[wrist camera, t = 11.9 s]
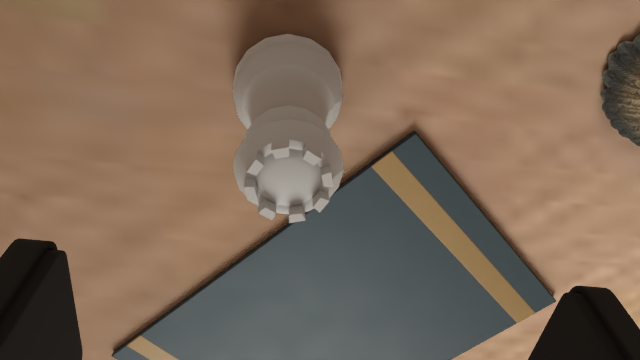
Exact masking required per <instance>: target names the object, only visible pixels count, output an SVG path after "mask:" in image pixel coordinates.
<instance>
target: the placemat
mask: <svg viewBox="0 0 640 360" xmlns="http://www.w3.org/2000/svg"><path fill="white" fill-rule="evenodd" d="M329 200H330V201H329V202H328V204H327V205H326V206H325V207H324V208H323V210H322V211H321V212H320V213H319V212H318V211H317V210H316V209H315V208H314V209H312V210H310V211H308V212H305V221H300V222H294V223H288V224H287V225H286V226H284V227H283V228H282V229H280V230H279V231H277V232H276V233H275V234H273V235H272V236H271V237H269V238H268V239H267V240H265V241H264V242H263V243H261V244H260V245H258V246H257V247H256V248H254V249H253V250H252V251H250V252H249V253H248V254H246V255H245V256H243V257H242V258H241V259H239V260H238V261H237V262H235V263H234V264H233V265H231V266H230V267H228V268H227V269H226V270H224V271H223V272H222V273H220V274H219V275H218V276H216V277H215V278H214V279H212V280H211V281H209V282H208V283H207V284H205V285H204V286H203V287H201V288H200V289H199V290H197V291H196V292H194V293H193V294H192V295H190V296H189V297H188V298H186V299H185V300H184V301H182V302H181V303H180V304H178V305H177V306H175V307H174V308H173V309H171V310H170V311H169V312H167V313H166V314H165V315H163V316H162V317H160V318H159V319H158V320H156V321H155V322H154V323H152V324H151V325H150V326H148V327H147V328H145V329H144V330H143V331H141V332H140V333H139V334H137V335H136V336H135V337H133V338H132V339H131V340H129V341H128V342H126V343H125V344H124V345H122V346H121V347H120V348H118V349H117V350H116V351H114V352H113V354H112V357H114V358H116V359H117V360H451V359H453V358H455V357H456V356H458V355H460V354H462V353H464V352H465V351H467V350H469V349H471V348H473V347H475V346H476V345H478V344H480V343H482V342H484V341H485V340H487V339H489V338H491V337H493V336H494V335H496V334H498V333H500V332H502V331H503V330H505V329H507V328H509V327H511V326H512V325H514V324H516V323H518V322H520V321H522V320H524V319H526V318H528V317H529V316H531V315H533V314H535V313H536V312H538V311H540V310H541V309H543V308H545V307H547V306H549V305H550V304H552V303H554V302H556V300H555V299H554V297H553V296H552V295H551V294H550V292H549V291H548V290H547V289H546V288H545V286H544V285H543V284H542V283H541V282H540V280H539V279H538V278H537V277H536V276H535V274H534V273H533V272H532V271H531V270H530V268H529V267H528V266H527V265H526V264H525V262H524V261H523V260H522V259H521V258H520V256H519V255H518V254H517V253H516V252H515V250H514V249H513V248H512V247H511V246H510V245H509V243H508V242H507V241H506V240H505V239H504V237H503V236H502V235H501V234H500V233H499V231H498V230H497V229H496V228H495V227H494V225H493V224H492V223H491V222H490V221H489V219H488V218H487V217H486V216H485V215H484V213H483V212H482V211H481V210H480V209H479V207H478V206H477V205H476V204H475V203H474V201H473V200H472V199H471V198H470V197H469V195H468V194H467V193H466V192H465V191H464V189H463V188H462V187H461V186H460V185H459V183H458V182H457V181H456V180H455V179H454V177H453V176H452V175H451V174H450V173H449V171H448V170H447V169H446V168H445V167H444V165H443V164H442V163H441V162H440V161H439V159H438V158H437V157H436V156H435V155H434V153H433V152H432V151H431V150H430V149H429V148H428V146H427V145H426V144H425V143H424V142H423V140H422V139H421V138H420V137H419V136H418V134H417V133H416V132H415V131H414V132H412V133H411V134H409V135H408V136H407V137H405V138H404V139H403V140H401V141H400V142H399V143H397V144H396V145H395V146H393V147H392V148H390V149H389V150H388V151H386V152H385V153H384V154H382V155H381V156H380V157H378V158H377V159H375V160H374V161H373V162H371V163H370V164H369V165H367V166H366V167H365V168H363V169H362V170H360V171H359V172H358V173H356V174H355V175H354V176H352V177H351V178H350V179H348V180H347V181H346V182H344V183H343V184H341V185H340V186H339V187H338V189H337V190H336V191H335V192H334V193H333V194H332V196H331V197H330V198H329Z"/></svg>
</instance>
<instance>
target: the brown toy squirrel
mask: <svg viewBox="0 0 640 360" xmlns="http://www.w3.org/2000/svg"><path fill="white" fill-rule="evenodd" d="M607 60H608V65H609V68H608V69H607V70H605V71H604V72H603V76H602V78H603V81H604V83H605V84H606V86H607V87H608V88H607V89H605V90H602V91H601V96H602V97H603V99H604V100H605V103H603V105H602V109H603V111H604V112H605V115H606V117H607V118H608V119H609V120H610V123H611V126H612V127H613V128H615V129H617V130H618V131H619V134H620V135H622V136H623V137H627V138H629V139H630V140H631V141H632V142H634V143H635V144H636V145H638V146H640V34H638V35H637V36H636V37H635V38H634V40H633V42H631V41H623V42H621V43H619V44H618V46H617V51H615V52H612V53H610V54H609V56H608V59H607Z"/></svg>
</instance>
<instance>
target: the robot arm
mask: <svg viewBox="0 0 640 360" xmlns="http://www.w3.org/2000/svg"><path fill="white" fill-rule="evenodd" d="M0 360H82V345H81V339H80V333H79V327H78V321H77V315H76V309H75V303H74V297H73V291H72V285H71V279H70V273H69V267H68V261H67V256H66V253H65V251H61V250H57V247H56V244H55V243H54V242H51V241H41V240H29V239H17V240H15V241H14V242H13V243H12V244H11V245H10V246H9V247H8V249H7V250H6V251H5V253H4V254H3V255H2V256H1V258H0ZM528 360H640V329H639V328H638V326H637V325H636V324H635V322H634V321H633V319H632V318H631V317H630V315H629V314H628V313H627V311H626V310H625V308H624V307H623V306H622V304H621V303H620V302H619V300H618V299H617V297H616V296H615V295H614V294H613V293H612V292H611V291H610V290H609V289H607V288H599V287H587V286H575V287H573V288H572V289H571V290H570V292H569V293H565V294H563V296H562V297H561V299H560V301H559V303H558V305H557V306H556V308H555V310H554V312H553V314H552V316H551V318H550V319H549V321H548V323H547V325H546V327H545V329H544V331H543V333H542V334H541V336H540V338H539V340H538V342H537V344H536V346H535V347H534V349H533V351H532V353H531V355H530V357H529V359H528Z"/></svg>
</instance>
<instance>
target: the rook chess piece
mask: <svg viewBox="0 0 640 360" xmlns="http://www.w3.org/2000/svg"><path fill="white" fill-rule="evenodd" d="M233 90H234V91H233V99H234V103H235V107H236V110H237V114H238V117H239V119H240V120H241V121H242V123H243V124H244V125H245V126H246V128H247V129H248V130H247V134H246V138H245V139H244V141H243V142H242V143H241V145H240V146H239V148H238V149H237V150H236V155H235V161H234V167H233V171H234V174H235V177H236V181H237V184H238V188H239V189H240V190H241V191H242V192H243V193H244V195H245V196H246V197H247V200H248V201H250V202H252V203H254V204H255V205H257V206H259V208H258V213H259V214H261V215H263V216H264V217H266V218H268V219H270V220H272V221H273V219H274V217H275V215H276V213H281V214H288V215H289V223H294V222H300V221H305V212H308V211H310V210H312V209H314V208H315V209H316V210H317V211H318V212H319V213H320V212H321V211H322V210H323V208H324V207H325V206H326V205H327V204H328V202H329V201H330V200H329V198H330V197H331V196H332V194H333V193H334V192H335V191H336V190H337V189H338V187H339V184H340V181H341V177H342V174H343V171H344V167H343V161H342V155H341V151H340V149H339V148H338V146H337V145H336V143H335V142H334V140H333V139H332V137H331V135H330V131H329V128H330V127H331V126H332V124H333V123H334V122H335V121H336V119H337V117H338V114H339V110H340V107H341V103H342V99H343V94H342V90H343V88H342V82H341V75H340V69H339V67H338V66H337V64H336V62H335V61H334V59H333V58H332V56H331V54H330V53H329V51H328V50H326V49H325V48H323V47H322V46H320V45H319V44H317V43H316V42H315V41H313V40H312V39H310V38H306V37H301V36H296V35H292V34H284V35H278V36H273V37H267V38H265V39H263V40H262V41H260V42H259V43H257V44H256V45H254V46H253V47H251V48H250V49H248V50H247V51H246V53H245V55H244V56H243V58H242V59H241V61H240V62H239V64H238V65H237V67H236V71H235V77H234V84H233Z"/></svg>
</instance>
